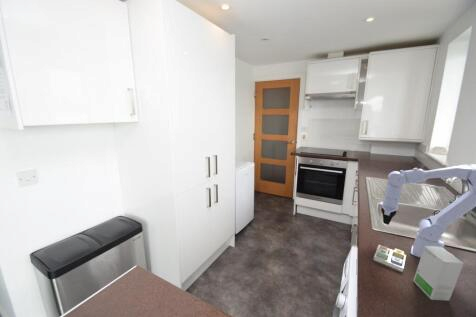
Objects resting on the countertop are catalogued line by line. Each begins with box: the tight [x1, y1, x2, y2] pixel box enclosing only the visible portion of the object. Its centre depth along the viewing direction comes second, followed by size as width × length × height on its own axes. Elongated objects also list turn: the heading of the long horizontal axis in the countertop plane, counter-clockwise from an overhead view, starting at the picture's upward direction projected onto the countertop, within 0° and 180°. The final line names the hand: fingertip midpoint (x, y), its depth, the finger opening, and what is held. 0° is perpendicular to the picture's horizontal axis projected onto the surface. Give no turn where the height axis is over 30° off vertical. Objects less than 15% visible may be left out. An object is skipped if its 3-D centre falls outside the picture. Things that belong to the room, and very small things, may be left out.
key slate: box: [392, 256, 402, 266], centre depth 86 cm, size 3×3×2 cm
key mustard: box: [393, 248, 405, 259], centre depth 90 cm, size 3×3×2 cm
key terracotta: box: [380, 244, 391, 253], centre depth 93 cm, size 3×3×2 cm
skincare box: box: [412, 246, 465, 302], centre depth 73 cm, size 8×7×16 cm
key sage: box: [377, 248, 388, 260], centre depth 89 cm, size 3×3×2 cm
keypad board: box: [372, 244, 407, 274], centre depth 90 cm, size 10×11×2 cm
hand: (386, 223), depth 100 cm, fingers closed
